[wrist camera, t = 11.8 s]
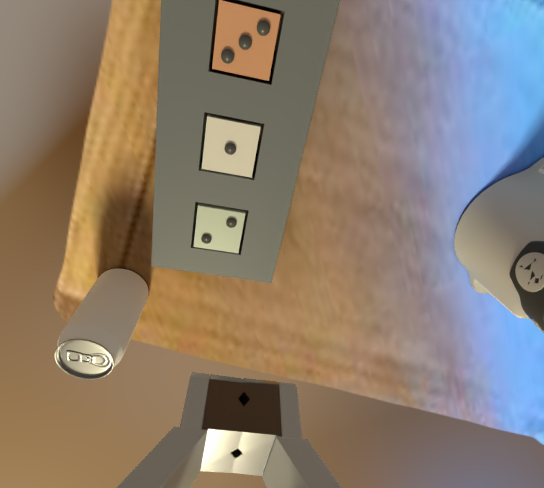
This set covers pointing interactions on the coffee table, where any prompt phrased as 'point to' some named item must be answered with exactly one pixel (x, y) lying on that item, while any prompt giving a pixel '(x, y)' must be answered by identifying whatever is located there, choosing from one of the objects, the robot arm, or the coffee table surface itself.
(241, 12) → the three dot button
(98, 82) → the coffee table surface
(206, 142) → the one dot button
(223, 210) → the two dot button
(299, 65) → the button board
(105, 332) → the can
